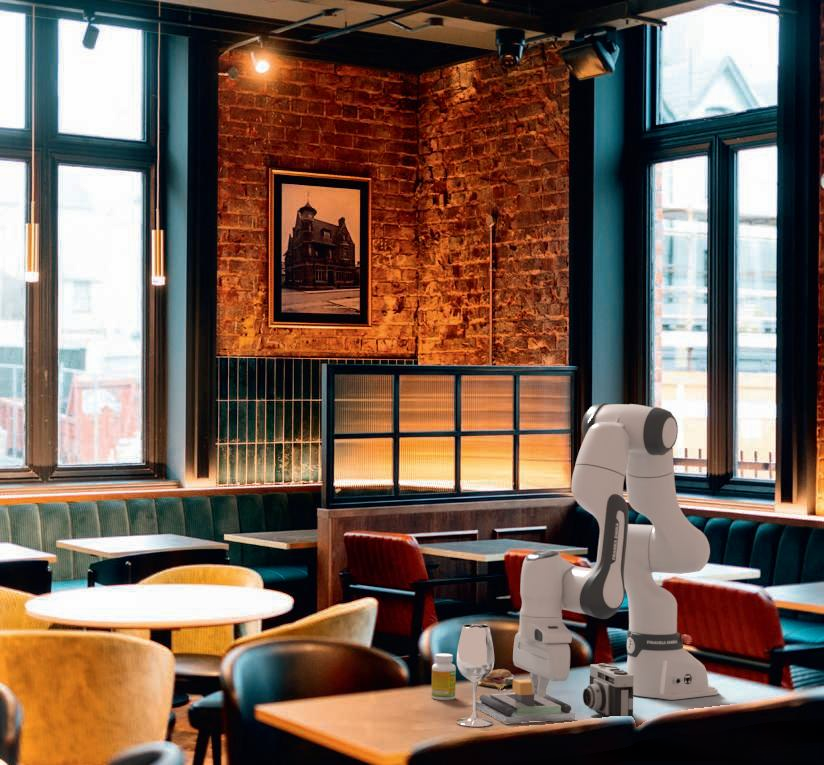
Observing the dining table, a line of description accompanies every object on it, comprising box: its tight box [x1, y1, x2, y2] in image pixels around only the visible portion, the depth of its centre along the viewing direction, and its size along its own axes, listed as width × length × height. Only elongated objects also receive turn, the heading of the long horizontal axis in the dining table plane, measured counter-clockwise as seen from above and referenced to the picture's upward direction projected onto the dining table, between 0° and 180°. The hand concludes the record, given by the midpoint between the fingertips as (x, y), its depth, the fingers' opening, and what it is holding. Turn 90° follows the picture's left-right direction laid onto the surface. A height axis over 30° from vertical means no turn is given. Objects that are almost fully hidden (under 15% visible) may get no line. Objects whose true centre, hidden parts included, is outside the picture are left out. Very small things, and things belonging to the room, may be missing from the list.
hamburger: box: [478, 668, 515, 691], centre depth 313 cm, size 14×14×6 cm
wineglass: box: [455, 623, 495, 728], centre depth 274 cm, size 8×8×20 cm
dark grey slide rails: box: [479, 694, 572, 716], centre depth 283 cm, size 15×16×2 cm
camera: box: [582, 662, 634, 718], centre depth 285 cm, size 14×8×10 cm, turn 16°
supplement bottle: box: [430, 653, 457, 701], centre depth 298 cm, size 5×5×10 cm
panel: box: [476, 692, 576, 724], centre depth 283 cm, size 16×16×3 cm
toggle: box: [512, 678, 534, 707], centre depth 283 cm, size 4×4×5 cm
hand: (539, 695), depth 276 cm, fingers closed
